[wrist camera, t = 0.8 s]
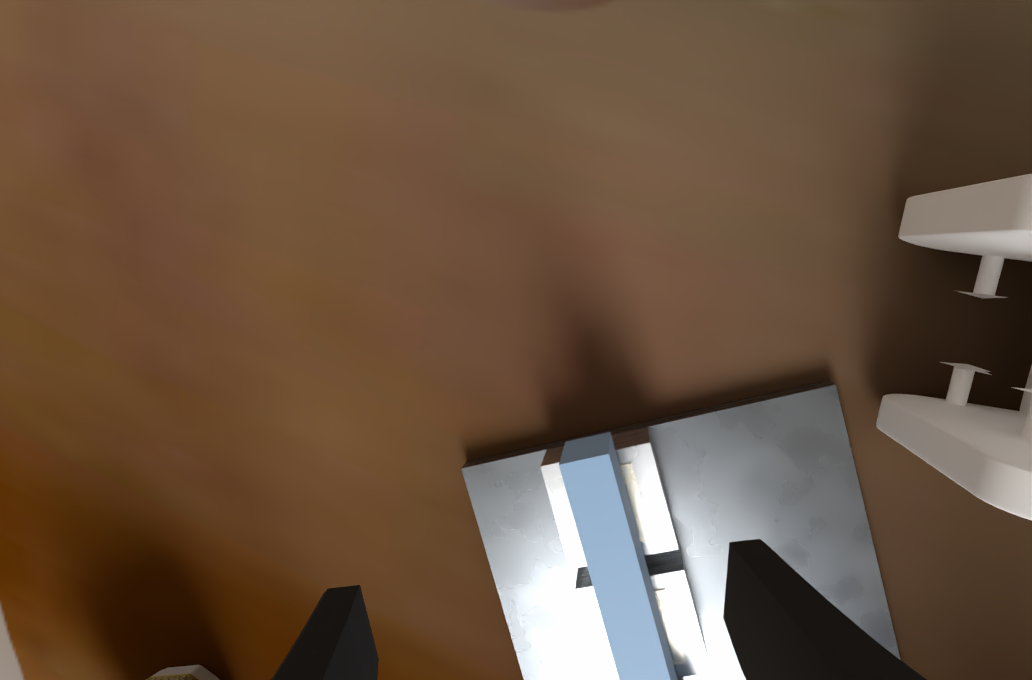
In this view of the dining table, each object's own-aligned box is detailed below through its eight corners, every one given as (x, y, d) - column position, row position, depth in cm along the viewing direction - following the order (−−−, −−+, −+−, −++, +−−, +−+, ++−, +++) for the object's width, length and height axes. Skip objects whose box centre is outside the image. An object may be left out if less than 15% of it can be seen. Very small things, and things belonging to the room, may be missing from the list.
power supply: (704, 639, 30) (711, 674, 28) (604, 654, 31) (603, 689, 29) (679, 544, 30) (684, 571, 28) (578, 562, 31) (575, 590, 28)
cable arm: (717, 758, 28) (728, 818, 25) (638, 767, 29) (640, 826, 26) (628, 427, 27) (629, 449, 24) (548, 445, 27) (539, 468, 24)
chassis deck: (911, 730, 30) (920, 746, 29) (557, 771, 34) (555, 787, 33) (828, 380, 29) (835, 384, 28) (466, 462, 32) (461, 468, 31)
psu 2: (673, 525, 30) (678, 550, 27) (573, 544, 31) (569, 570, 28) (647, 426, 29) (650, 443, 27) (547, 449, 30) (540, 467, 28)
